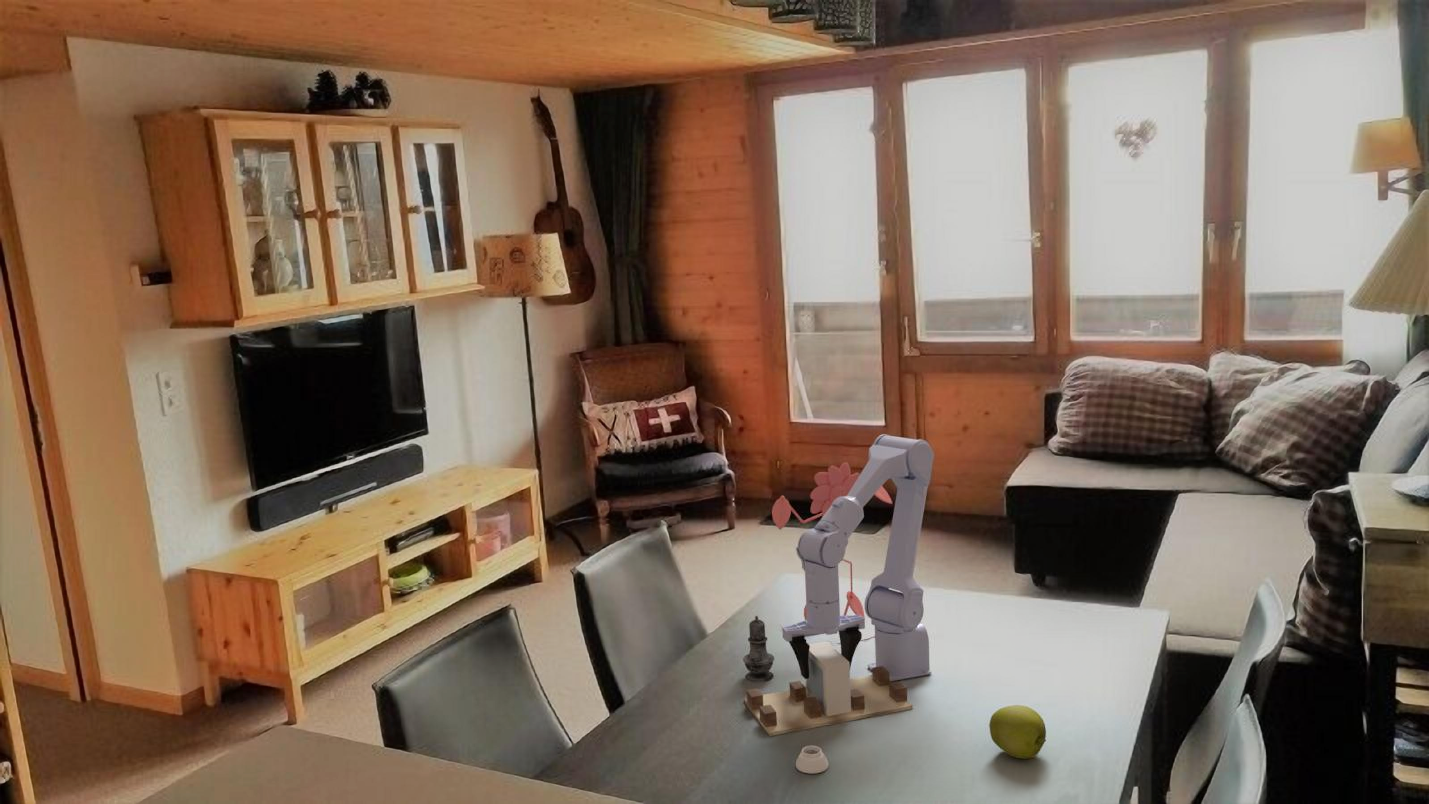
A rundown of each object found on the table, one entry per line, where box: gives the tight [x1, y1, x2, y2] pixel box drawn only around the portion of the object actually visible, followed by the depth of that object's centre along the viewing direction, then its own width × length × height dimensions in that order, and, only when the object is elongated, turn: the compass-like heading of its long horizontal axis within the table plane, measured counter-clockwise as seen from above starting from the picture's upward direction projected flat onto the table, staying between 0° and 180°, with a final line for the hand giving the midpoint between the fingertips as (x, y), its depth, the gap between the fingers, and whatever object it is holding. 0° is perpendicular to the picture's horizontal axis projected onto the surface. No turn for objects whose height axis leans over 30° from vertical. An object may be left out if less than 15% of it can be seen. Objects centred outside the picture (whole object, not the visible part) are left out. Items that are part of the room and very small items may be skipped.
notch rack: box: [743, 666, 913, 737], centre depth 192 cm, size 26×14×3 cm, turn 106°
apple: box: [988, 704, 1047, 760], centre depth 170 cm, size 8×9×8 cm
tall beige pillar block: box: [804, 641, 851, 717], centre depth 191 cm, size 4×10×9 cm, turn 16°
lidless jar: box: [795, 745, 829, 775], centre depth 171 cm, size 5×3×5 cm
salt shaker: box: [742, 615, 775, 683], centre depth 204 cm, size 6×6×12 cm
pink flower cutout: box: [771, 461, 893, 645], centre depth 222 cm, size 15×26×35 cm, turn 113°
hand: (825, 672), depth 191 cm, fingers open, 7 cm apart
